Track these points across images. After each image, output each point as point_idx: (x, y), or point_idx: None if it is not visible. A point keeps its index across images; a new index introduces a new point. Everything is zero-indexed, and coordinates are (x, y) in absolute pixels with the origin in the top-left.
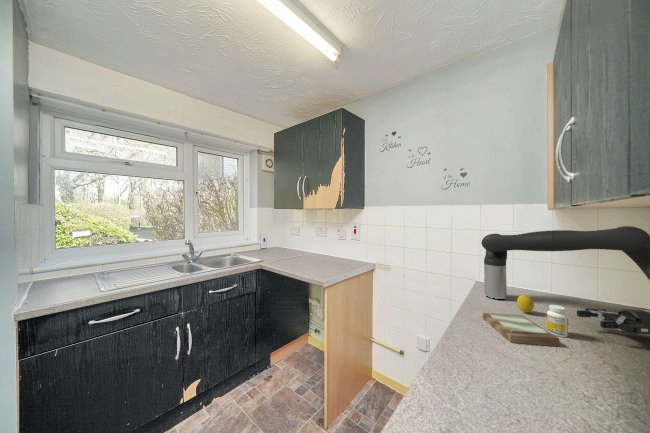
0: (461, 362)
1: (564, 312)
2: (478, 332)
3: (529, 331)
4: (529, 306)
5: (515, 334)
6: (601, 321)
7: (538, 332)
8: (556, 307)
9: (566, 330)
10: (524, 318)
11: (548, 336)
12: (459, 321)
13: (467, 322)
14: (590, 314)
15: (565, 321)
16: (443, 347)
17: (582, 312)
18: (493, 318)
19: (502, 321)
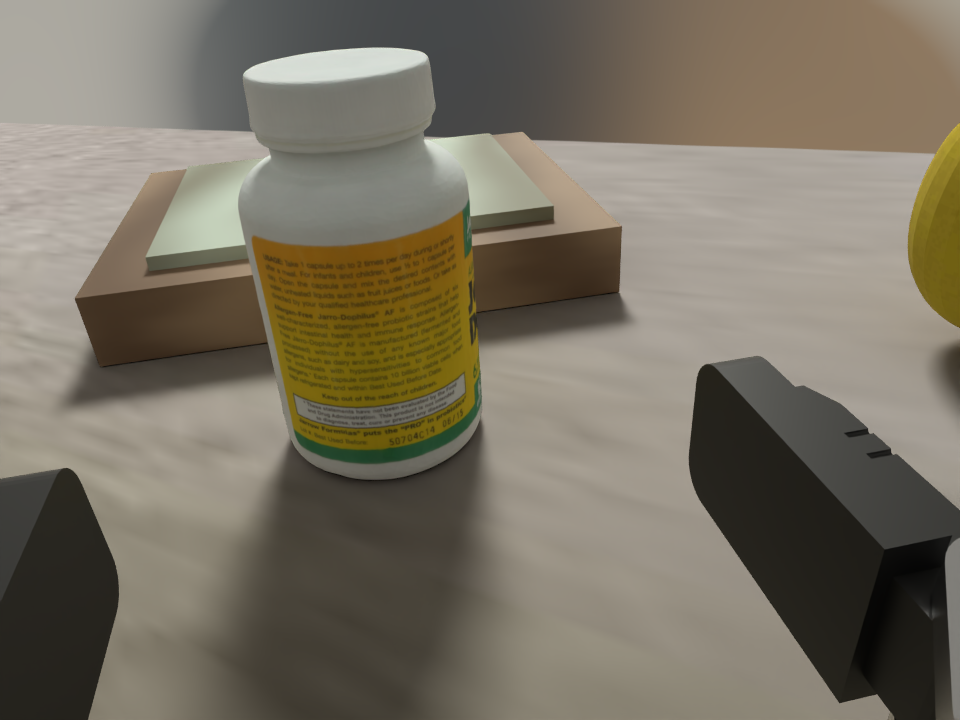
0: (5, 149)
1: (269, 142)
2: None
3: (183, 205)
4: (933, 237)
5: (159, 183)
6: (45, 474)
7: (163, 226)
8: (307, 61)
9: (280, 383)
10: (477, 213)
11: (119, 265)
12: None
13: None
14: (890, 648)
15: (251, 262)
16: (123, 129)
17: (746, 438)
18: None
19: None
